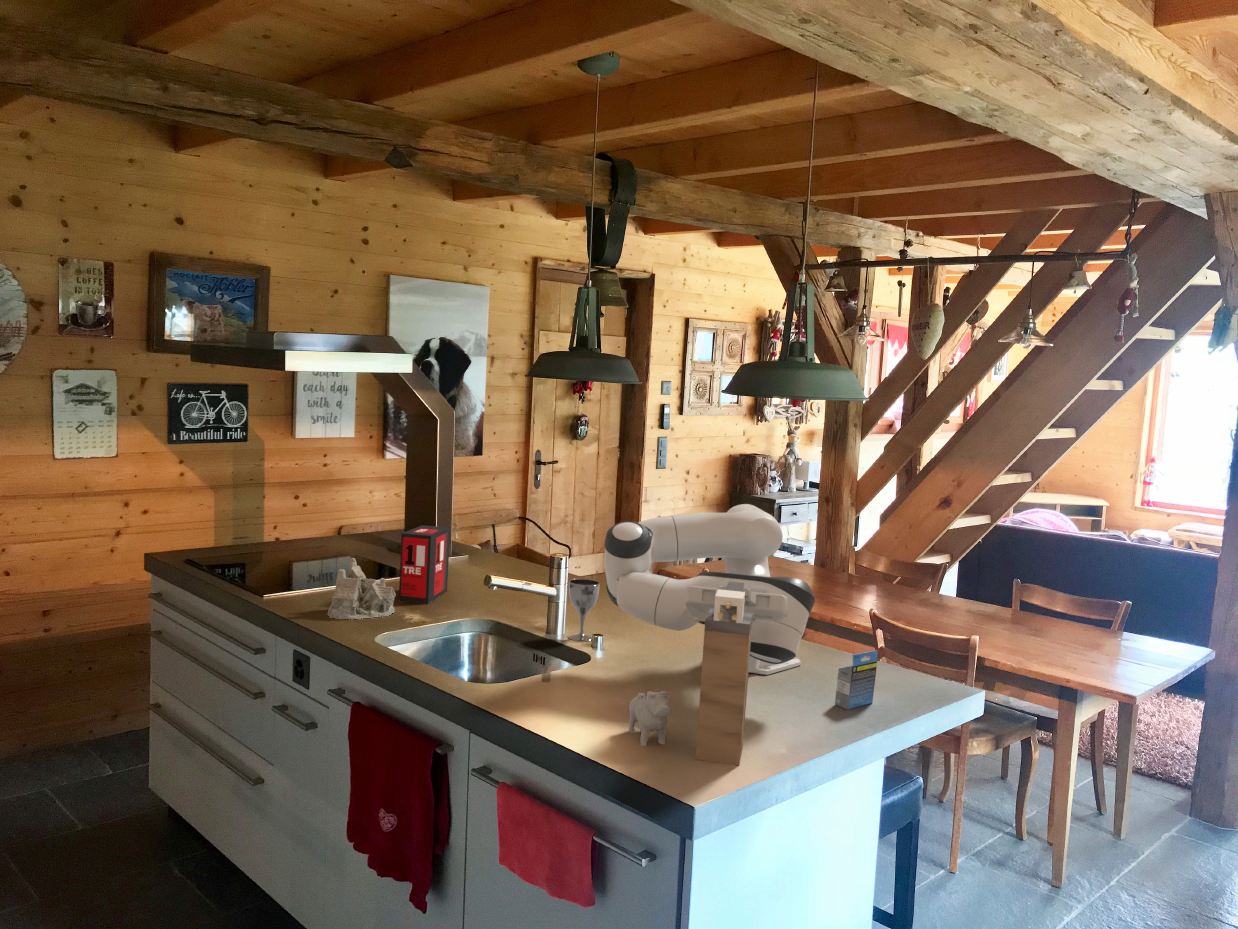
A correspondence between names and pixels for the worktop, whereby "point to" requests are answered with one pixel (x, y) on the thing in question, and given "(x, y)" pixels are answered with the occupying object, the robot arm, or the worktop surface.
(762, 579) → the robot arm
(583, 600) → the wine glass
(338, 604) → the ceramic cottage
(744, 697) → the stand
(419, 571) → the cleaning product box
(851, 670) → the label tape box
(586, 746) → the worktop surface
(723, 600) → the plug
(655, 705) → the grey animal figure
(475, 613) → the worktop surface
